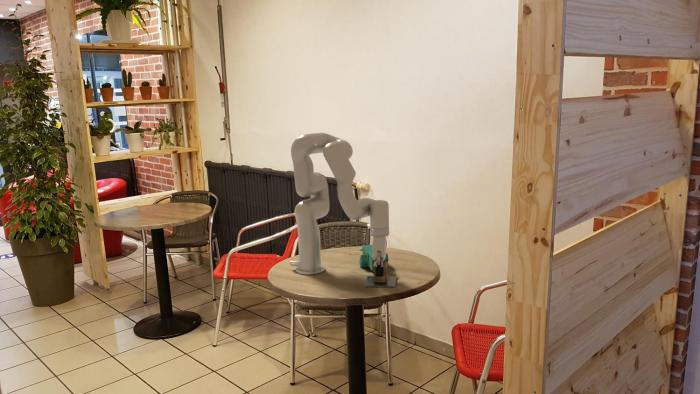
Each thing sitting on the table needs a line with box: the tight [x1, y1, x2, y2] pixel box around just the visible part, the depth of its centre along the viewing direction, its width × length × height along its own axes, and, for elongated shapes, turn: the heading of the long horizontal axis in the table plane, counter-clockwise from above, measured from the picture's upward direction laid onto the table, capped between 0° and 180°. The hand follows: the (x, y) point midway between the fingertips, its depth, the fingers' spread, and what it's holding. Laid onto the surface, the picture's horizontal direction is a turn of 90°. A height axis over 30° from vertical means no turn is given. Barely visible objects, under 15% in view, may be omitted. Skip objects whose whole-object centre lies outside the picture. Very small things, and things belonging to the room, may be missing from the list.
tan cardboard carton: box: [373, 262, 388, 282], centre depth 212 cm, size 5×5×7 cm
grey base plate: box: [364, 275, 397, 289], centre depth 212 cm, size 12×12×7 cm
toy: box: [358, 240, 389, 272], centre depth 235 cm, size 12×10×30 cm
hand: (380, 272), depth 212 cm, fingers open, 9 cm apart
